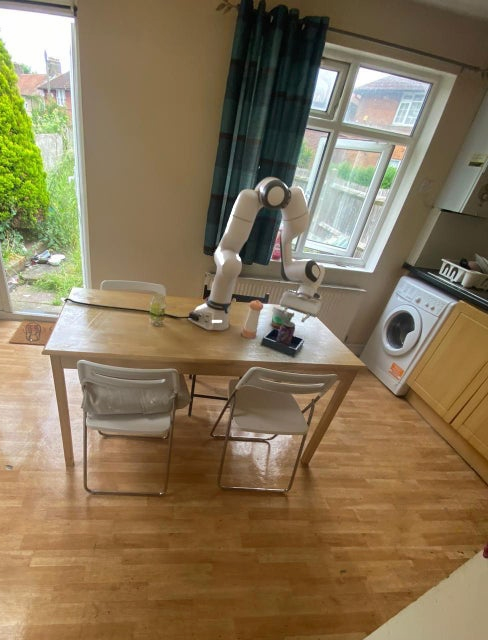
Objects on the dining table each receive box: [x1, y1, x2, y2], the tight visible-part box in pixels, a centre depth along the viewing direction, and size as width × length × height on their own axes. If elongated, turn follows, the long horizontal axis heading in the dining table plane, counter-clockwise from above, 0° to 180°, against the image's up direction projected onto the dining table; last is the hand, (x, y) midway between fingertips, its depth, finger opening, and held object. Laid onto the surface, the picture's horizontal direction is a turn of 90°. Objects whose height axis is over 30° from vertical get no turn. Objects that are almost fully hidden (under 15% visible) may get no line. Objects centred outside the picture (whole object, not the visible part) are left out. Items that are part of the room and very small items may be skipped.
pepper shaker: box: [241, 299, 264, 339], centre depth 170 cm, size 7×7×19 cm
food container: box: [270, 306, 295, 330], centre depth 184 cm, size 12×6×10 cm, turn 62°
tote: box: [260, 327, 306, 358], centre depth 170 cm, size 18×15×4 cm
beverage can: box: [276, 321, 296, 346], centre depth 167 cm, size 7×7×12 cm
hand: (293, 318), depth 168 cm, fingers open, 8 cm apart
